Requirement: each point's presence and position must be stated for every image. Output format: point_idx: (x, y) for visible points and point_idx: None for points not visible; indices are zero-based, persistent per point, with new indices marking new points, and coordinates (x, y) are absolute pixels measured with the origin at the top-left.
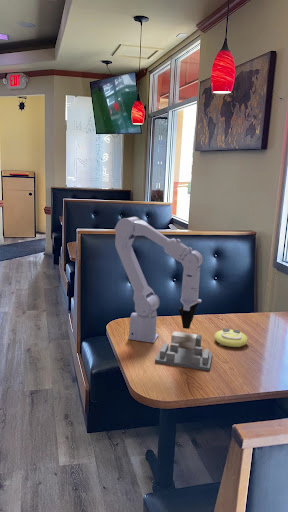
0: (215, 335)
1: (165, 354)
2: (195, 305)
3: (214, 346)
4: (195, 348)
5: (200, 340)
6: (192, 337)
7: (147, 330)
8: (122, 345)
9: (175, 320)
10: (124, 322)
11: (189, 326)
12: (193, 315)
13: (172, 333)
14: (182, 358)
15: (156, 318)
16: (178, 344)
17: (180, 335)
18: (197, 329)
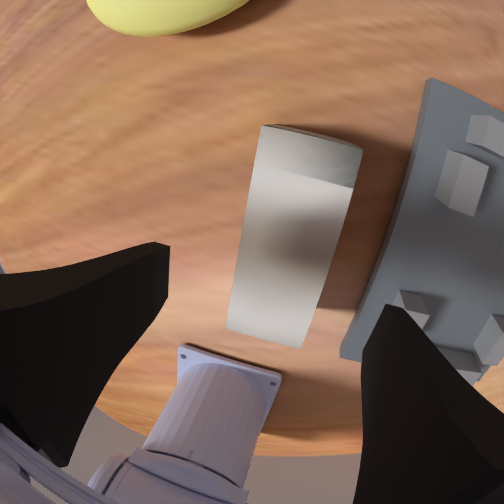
0: (164, 25)
1: (453, 351)
2: (19, 336)
3: (270, 37)
4: (474, 210)
5: (351, 145)
6: (332, 214)
7: (256, 433)
8: (314, 446)
9: (14, 241)
10: (111, 405)
11: (415, 323)
12: (127, 265)
13: (268, 340)
14: (500, 278)
15: (195, 446)
16: (410, 310)
17: (298, 298)
18: (52, 144)
